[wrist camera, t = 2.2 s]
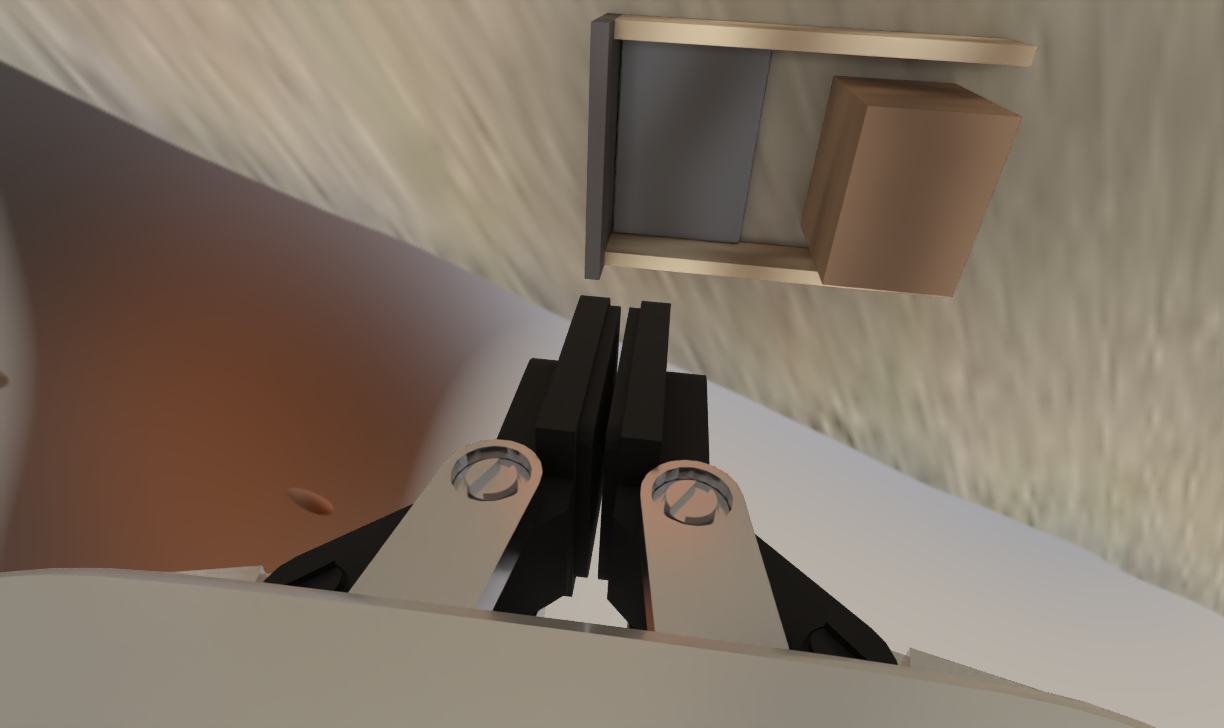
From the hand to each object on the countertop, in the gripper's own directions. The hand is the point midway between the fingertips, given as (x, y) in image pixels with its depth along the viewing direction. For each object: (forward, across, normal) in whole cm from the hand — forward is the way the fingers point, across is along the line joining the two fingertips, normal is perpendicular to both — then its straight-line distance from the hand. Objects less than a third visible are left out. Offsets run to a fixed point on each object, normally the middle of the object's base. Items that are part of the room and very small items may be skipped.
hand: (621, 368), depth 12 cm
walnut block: (+17, -9, 0) cm, 19 cm away
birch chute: (+17, -5, 0) cm, 18 cm away
